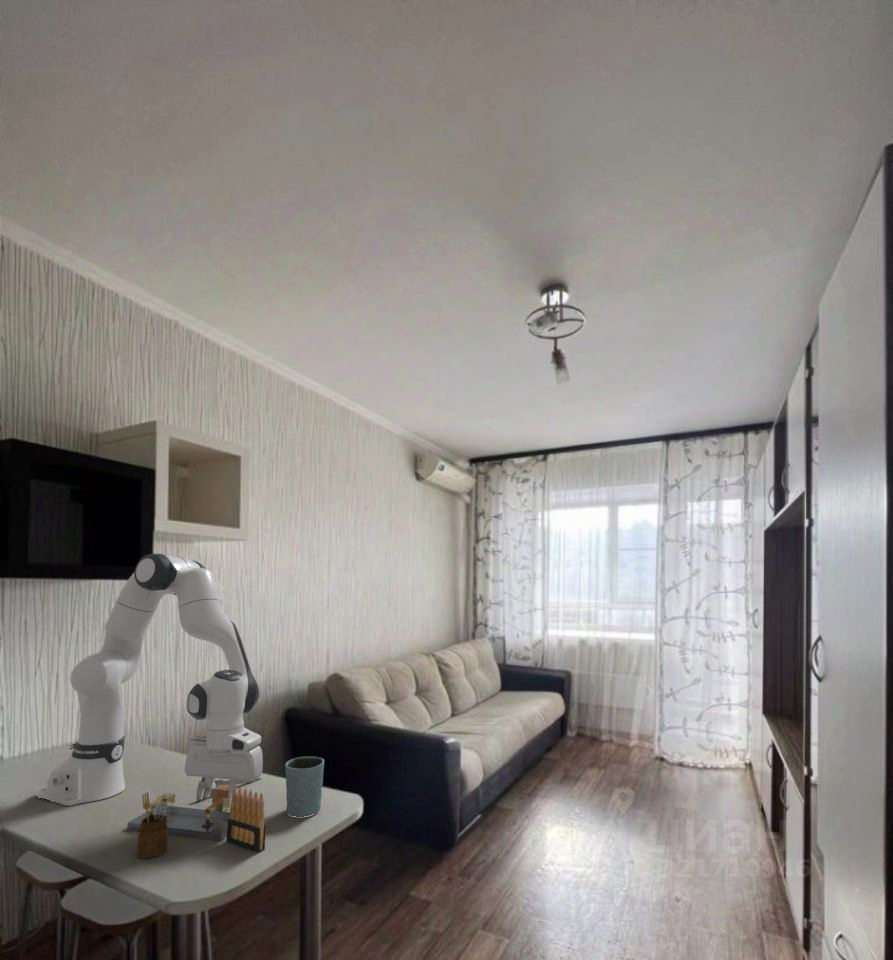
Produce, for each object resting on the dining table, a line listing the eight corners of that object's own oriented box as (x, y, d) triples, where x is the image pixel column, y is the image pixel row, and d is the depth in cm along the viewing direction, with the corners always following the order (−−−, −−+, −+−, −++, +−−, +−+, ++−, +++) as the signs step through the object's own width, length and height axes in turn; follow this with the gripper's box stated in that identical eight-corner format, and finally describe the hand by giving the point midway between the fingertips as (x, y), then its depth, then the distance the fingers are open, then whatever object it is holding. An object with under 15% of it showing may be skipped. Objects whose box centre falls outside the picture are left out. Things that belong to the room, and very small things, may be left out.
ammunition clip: (265, 849, 125) (267, 792, 127) (258, 853, 124) (261, 795, 125) (232, 838, 130) (235, 783, 132) (225, 842, 129) (228, 786, 131)
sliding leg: (201, 823, 134) (202, 795, 135) (219, 811, 140) (220, 784, 141) (211, 824, 133) (213, 796, 134) (229, 812, 140) (230, 785, 141)
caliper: (198, 803, 150) (199, 778, 151) (195, 802, 151) (197, 778, 152) (261, 780, 167) (262, 758, 168) (258, 779, 168) (260, 757, 168)
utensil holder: (151, 861, 120) (155, 801, 122) (129, 856, 122) (133, 798, 124) (172, 848, 126) (176, 791, 127) (151, 844, 128) (155, 788, 130)
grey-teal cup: (299, 823, 138) (301, 771, 140) (274, 812, 144) (277, 763, 146) (331, 809, 146) (332, 760, 148) (306, 799, 152) (307, 753, 154)
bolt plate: (127, 829, 135) (128, 807, 136) (156, 811, 145) (158, 791, 145) (221, 840, 129) (222, 817, 130) (246, 821, 139) (247, 800, 140)
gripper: (181, 738, 141) (177, 797, 138) (253, 744, 136) (250, 804, 134) (197, 731, 147) (193, 788, 145) (267, 736, 142) (264, 794, 140)
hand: (221, 796), depth 139 cm, fingers closed on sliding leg, 3 cm apart
